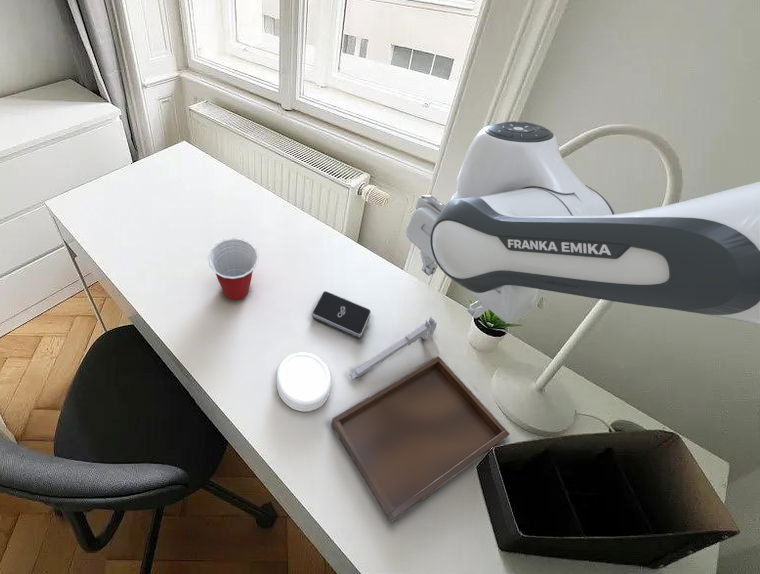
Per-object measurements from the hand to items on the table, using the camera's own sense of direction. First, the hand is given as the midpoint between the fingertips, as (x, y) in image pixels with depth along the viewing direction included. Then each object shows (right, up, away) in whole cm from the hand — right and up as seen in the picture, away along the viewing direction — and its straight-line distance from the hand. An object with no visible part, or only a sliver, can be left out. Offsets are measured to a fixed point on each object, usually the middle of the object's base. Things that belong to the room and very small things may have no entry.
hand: (450, 291), depth 65 cm
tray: (-4, -25, +5) cm, 26 cm away
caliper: (-4, -16, +16) cm, 23 cm away
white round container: (-22, -21, +12) cm, 33 cm away
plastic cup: (-36, -7, +29) cm, 47 cm away
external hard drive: (-13, -11, +23) cm, 29 cm away
